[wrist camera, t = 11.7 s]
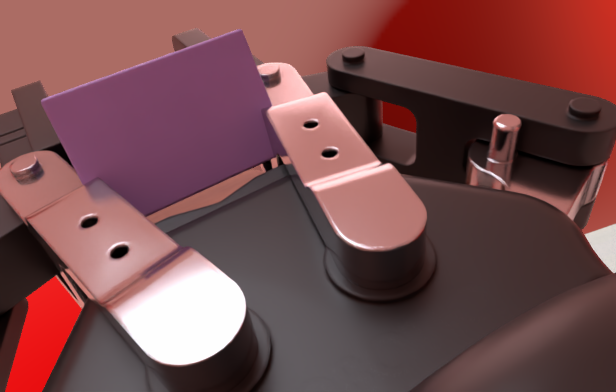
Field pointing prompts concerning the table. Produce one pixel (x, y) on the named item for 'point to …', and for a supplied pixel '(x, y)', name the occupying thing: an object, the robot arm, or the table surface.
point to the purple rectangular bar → (167, 123)
